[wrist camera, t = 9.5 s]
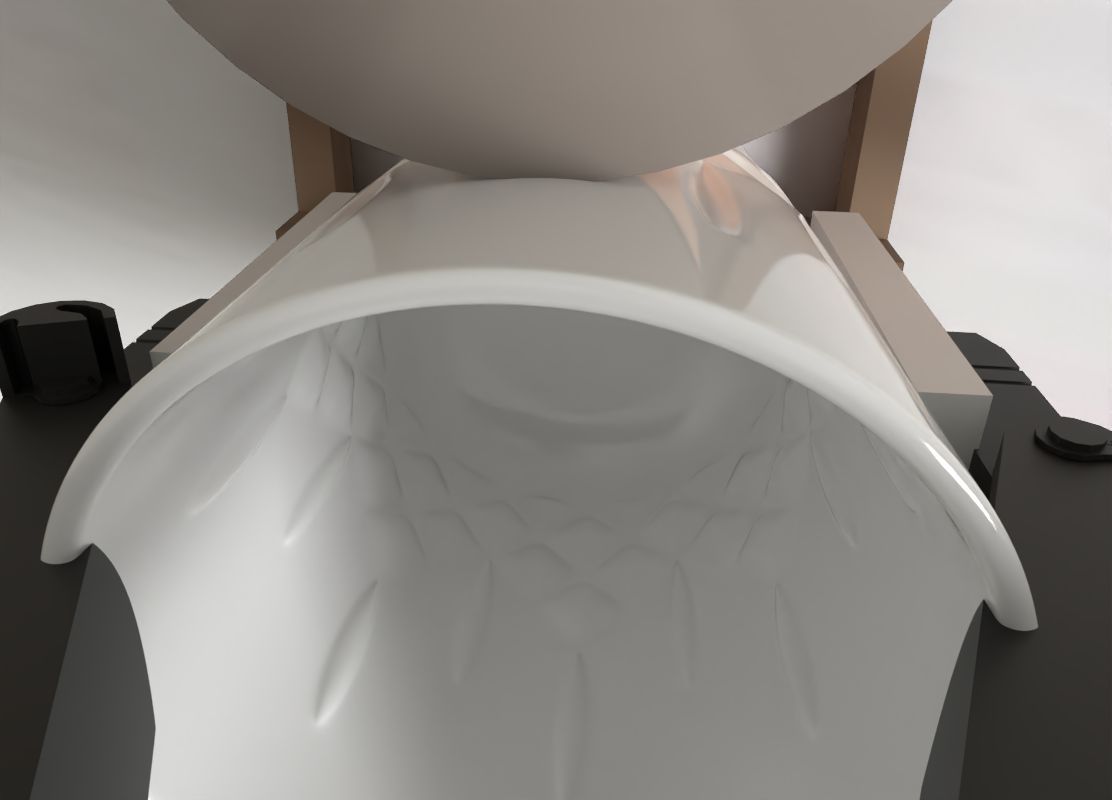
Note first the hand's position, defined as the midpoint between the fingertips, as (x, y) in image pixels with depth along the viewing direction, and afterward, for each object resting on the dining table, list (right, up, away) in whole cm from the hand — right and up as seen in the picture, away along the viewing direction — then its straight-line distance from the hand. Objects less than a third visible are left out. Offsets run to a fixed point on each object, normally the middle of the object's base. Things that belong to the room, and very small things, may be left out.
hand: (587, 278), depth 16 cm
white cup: (0, 0, 0) cm, 0 cm away
